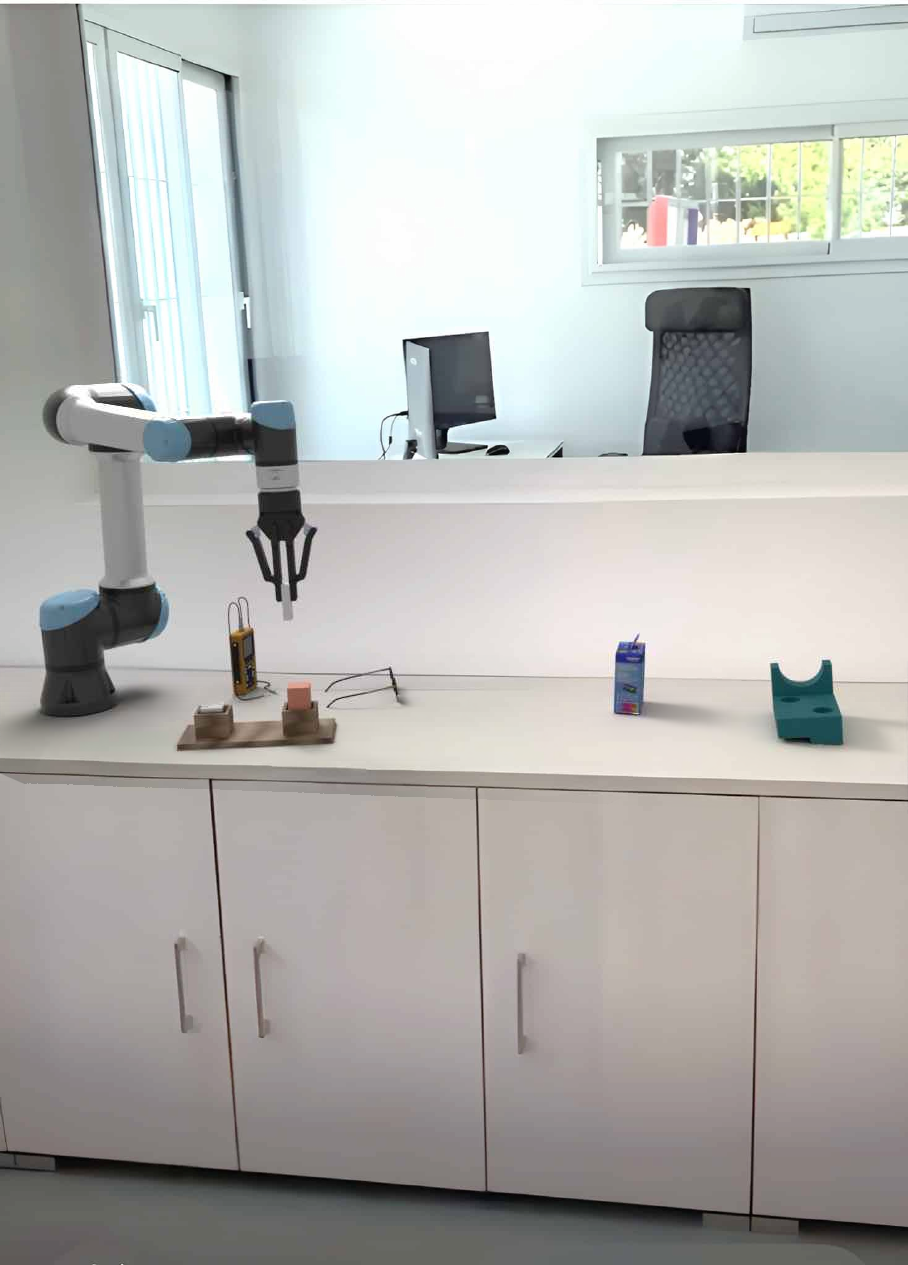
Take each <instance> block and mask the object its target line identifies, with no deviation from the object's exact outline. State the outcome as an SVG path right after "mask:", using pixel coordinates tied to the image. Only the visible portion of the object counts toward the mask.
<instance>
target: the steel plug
mask: <svg viewBox="0 0 908 1265" xmlns="http://www.w3.org/2000/svg"><path fill="white" fill-rule="evenodd" d="M200 712H201V714H214V713H225V712H226V701H217V702H214V701H211V702H203V703H202V707H201V709H200Z"/></svg>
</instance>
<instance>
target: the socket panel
mask: <svg viewBox="0 0 908 1265" xmlns="http://www.w3.org/2000/svg"><path fill="white" fill-rule="evenodd" d="M311 702H312V709H305V710H288V701H284V703H283V706H282V709H281V720H260V721H257V720H256V721H240V722H237V721H236V722H234V708H233V704H232V703H230V704H229V703H228V704H226V703H225V704H226V712H225V713H214V714H201V712H200V709H201V707H202V705H203V704H202V705H198V706H197V709H196V711H195V712H194V714H193V721H194V722H193V724H192V723H190V724H189V723H188V724H187V726H186V728H185V729H184V731H183V732H182V735H181V736H180V739H179V740H178V742H177V744H176V750H177V751H179V750H181V751H182V750H183V751H184V750H201V749H202V750H204V749H205V750H206V749H225V748H226V749H227V748H245V747H247V748H249V747H267V746H270V747H271V746H288V745H290V746H291V745H296V746H297V745H313V744H315V745H316V744H333V742H334V734H335V728H336V717H327V718H326V717H325V718H319V716H320V715H319V700H318V699H317V700H311Z"/></svg>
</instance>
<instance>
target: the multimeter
mask: <svg viewBox="0 0 908 1265" xmlns="http://www.w3.org/2000/svg"><path fill="white" fill-rule="evenodd" d="M241 599H243V600H245V602H246V606H247V607H246V608H247V610H246V612H247V623H248V627H244V623H243V622H244V620H243V614H242V606H241V603H240V600H241ZM237 603H238V604H237ZM237 603H236V602H234V601H232V602H230V603H229V606H228V609H227V624H228V633H229V634H228V640H229V652H230V664H231V665H230V668H231V669H230V670H231V678H232V690H233V691H232V692H233V694H234V695H236V698H238V699H239V700H242V701H250V700H254V699H259V698H263V697H265V696H268V695H270V694H273V693H274V694H278V695H280V693H279V692H277V691H276V690H274V689H273V688H267V687H269V686H270V685H271V683H270V682H269V681H264V680H258V675H257V659H256V645H255V644H256V643H255V631H254V628H253V627H251V625H250V616H249V615H250V613H249V609H250V608H249V603H248V600H247V598H246V597H244V596H240V597H238V598H237ZM233 604H234V605H235V606H236V608H237V610H238V629H236V630H235V631H234V632H232V633H231V625H230V608H231V606H232V605H233ZM258 683H267V684H268V685H267V684H266V685H265V686H264V687H263V688H264V690H265V689H266V690H268V692H269V693H262V694H259V695H258V694H257V695H255V696H252V697H249V698H241V697H240V696H239V695H247V694H248V693H249V692H250V691H252V690H253V689H255V688H257V686H258ZM271 692H272V693H271Z"/></svg>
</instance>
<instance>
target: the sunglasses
mask: <svg viewBox="0 0 908 1265" xmlns="http://www.w3.org/2000/svg"><path fill="white" fill-rule="evenodd" d="M386 671H388V672H389V677H390V680H391V685H389V686H385V687H382V688H378V689H375V690H370V691H365V692H361V693H353V694H349V695H344V696H340V697H337V698H335V699H333V700H332V701H331V702H330V703H329V704H328V705H327V706H326V707H325V708H330V706H331V705H333V704H334V703H335V702H336V701H338V700H342V699H347V698H352V697H358V696H362V695H366V694H372V693H377V692H380V691H385V690H388V689H389V690H390V689H393V692H394V693H395V698H396V700H397V702H399V700H398V699H399V698H398V695H399V693H398V686H397V682H396V681H397V680H396V678H395V677H394V673H393V670H392V666H388V667H387V668H382V669H378V670H374V671H369V672H366V673H361V674H357V675H356V674H355V675H352V676H347V677H345V678H341V679H337V680H336V681H333V682H332V683H331V684H329V685H328V687H327V688H326V689H325V690H324V693H327V692H328V691H329V690H330V689H331V687H333V685H335V684H336V683H339V682H343V681H346V680H351V679H355V678H358V677H362V676H366V675H370V674H376V673H379V672H386Z"/></svg>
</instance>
